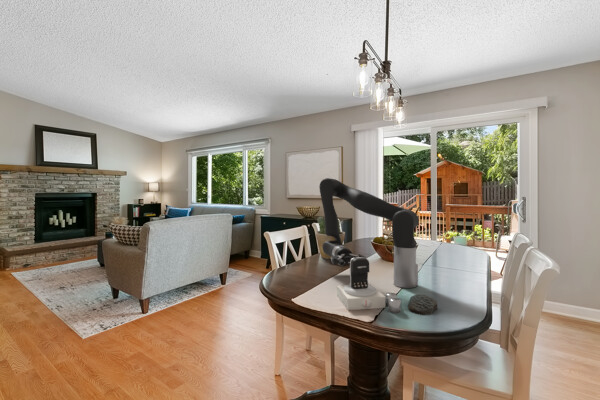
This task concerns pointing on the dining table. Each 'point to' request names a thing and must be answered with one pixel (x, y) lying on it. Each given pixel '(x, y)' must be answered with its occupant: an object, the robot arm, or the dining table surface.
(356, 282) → the battery
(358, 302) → the scale
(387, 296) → the spacer
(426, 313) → the fossil
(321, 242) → the potted plant
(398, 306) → the spacer
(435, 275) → the dining table surface
